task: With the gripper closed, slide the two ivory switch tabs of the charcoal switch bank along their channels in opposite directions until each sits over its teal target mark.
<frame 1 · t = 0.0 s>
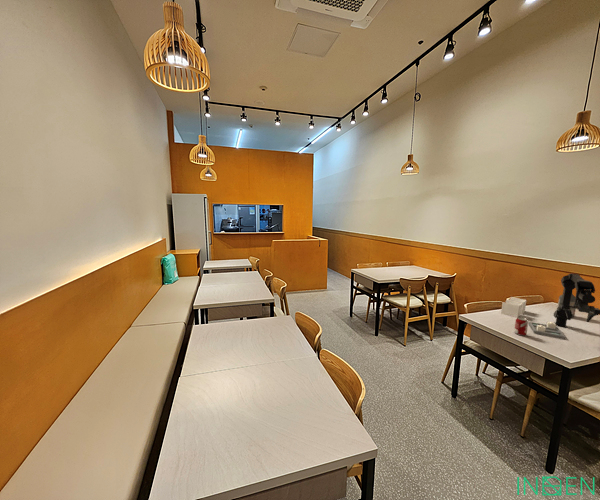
hand: (577, 320, 167), 15 cm above the table, fingers open, 9 cm apart
tab A: (551, 325, 185), point 4 cm above the table, slide at 8.0 cm
tab B: (541, 328, 179), point 4 cm above the table, slide at 0.0 cm
soda can: (520, 334, 178), on the table
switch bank: (545, 331, 182), on the table
liquor: (565, 315, 212), on the table
storage container: (513, 312, 218), on the table
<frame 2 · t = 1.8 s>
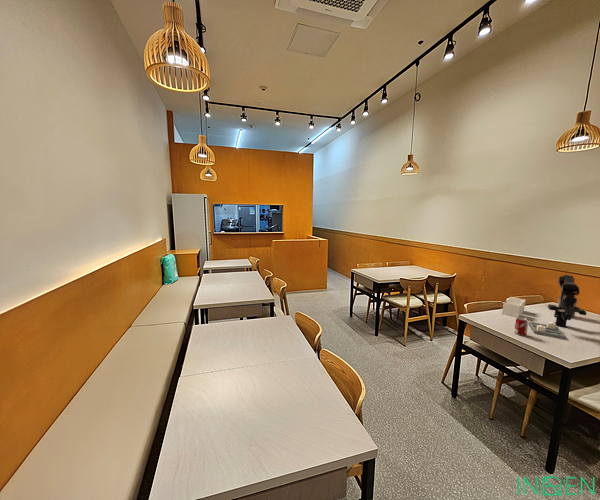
hand: (564, 320, 180), 9 cm above the table, fingers closed
nothing on the table moved.
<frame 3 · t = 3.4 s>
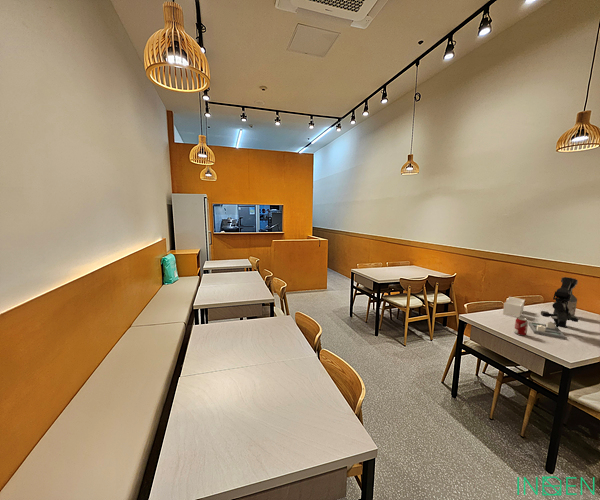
hand: (556, 327, 183), 3 cm above the table, fingers closed
tab A: (550, 325, 185), point 4 cm above the table, slide at 7.7 cm, touching gripper
everything else where it was.
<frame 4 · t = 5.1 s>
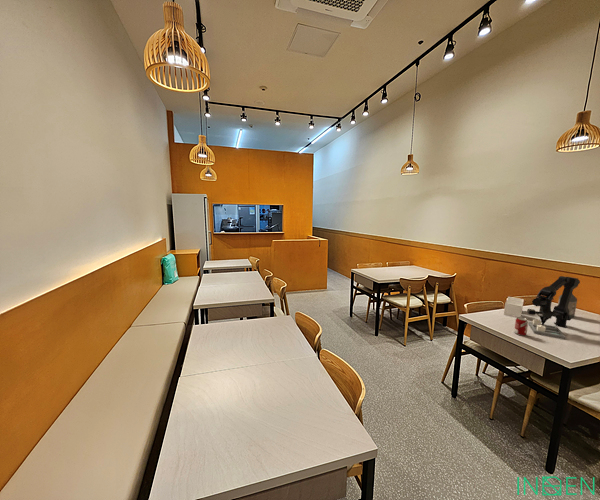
hand: (542, 324, 187), 3 cm above the table, fingers closed
tab A: (536, 322, 189), point 4 cm above the table, slide at -0.1 cm, touching gripper
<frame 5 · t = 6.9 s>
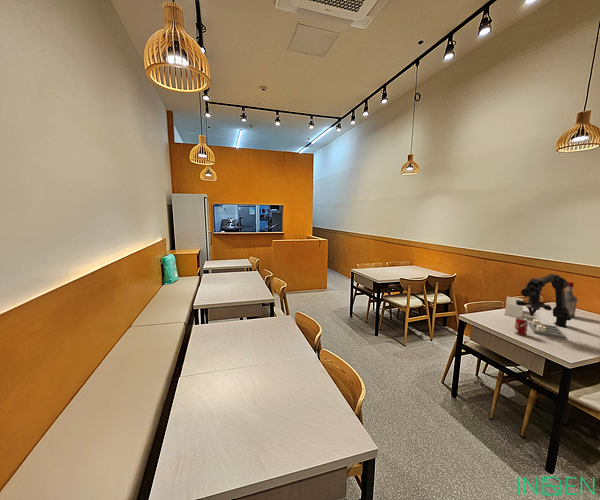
hand: (531, 315, 182), 12 cm above the table, fingers closed
tab A: (536, 322, 189), point 4 cm above the table, slide at -0.1 cm
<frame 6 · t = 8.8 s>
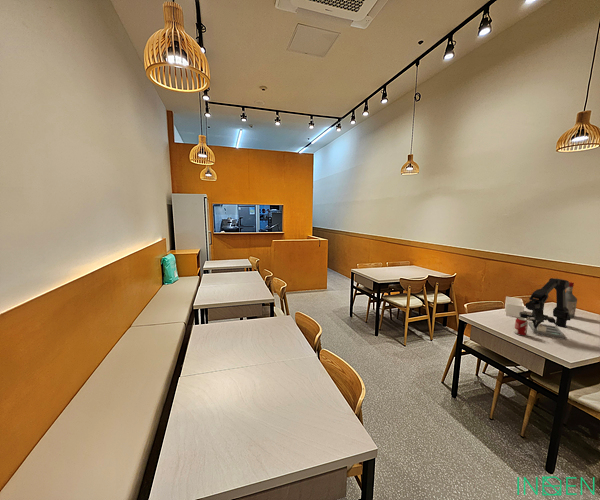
hand: (535, 328, 181), 3 cm above the table, fingers closed
tab B: (541, 328, 179), point 4 cm above the table, slide at 0.4 cm, touching gripper
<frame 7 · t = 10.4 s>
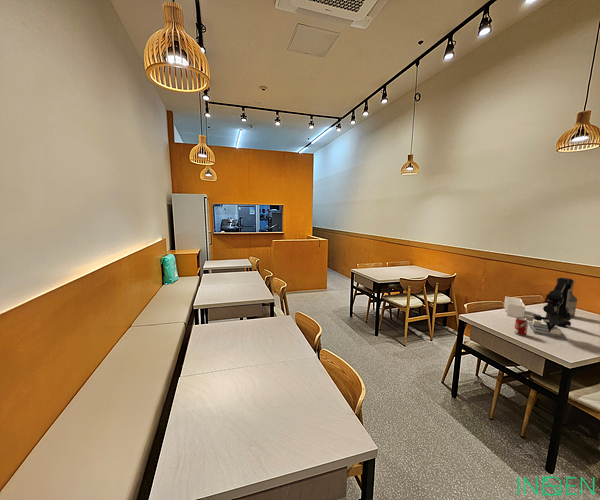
hand: (549, 330, 177), 3 cm above the table, fingers closed
tab B: (556, 331, 175), point 4 cm above the table, slide at 8.0 cm, touching gripper
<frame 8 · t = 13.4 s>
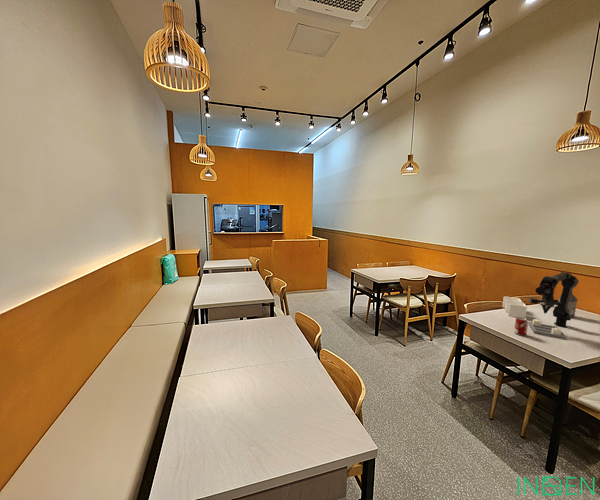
hand: (545, 313, 184), 13 cm above the table, fingers closed
tab B: (556, 331, 175), point 4 cm above the table, slide at 8.0 cm
at the end: tab A slide at -0.1 cm; tab B slide at 8.0 cm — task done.
